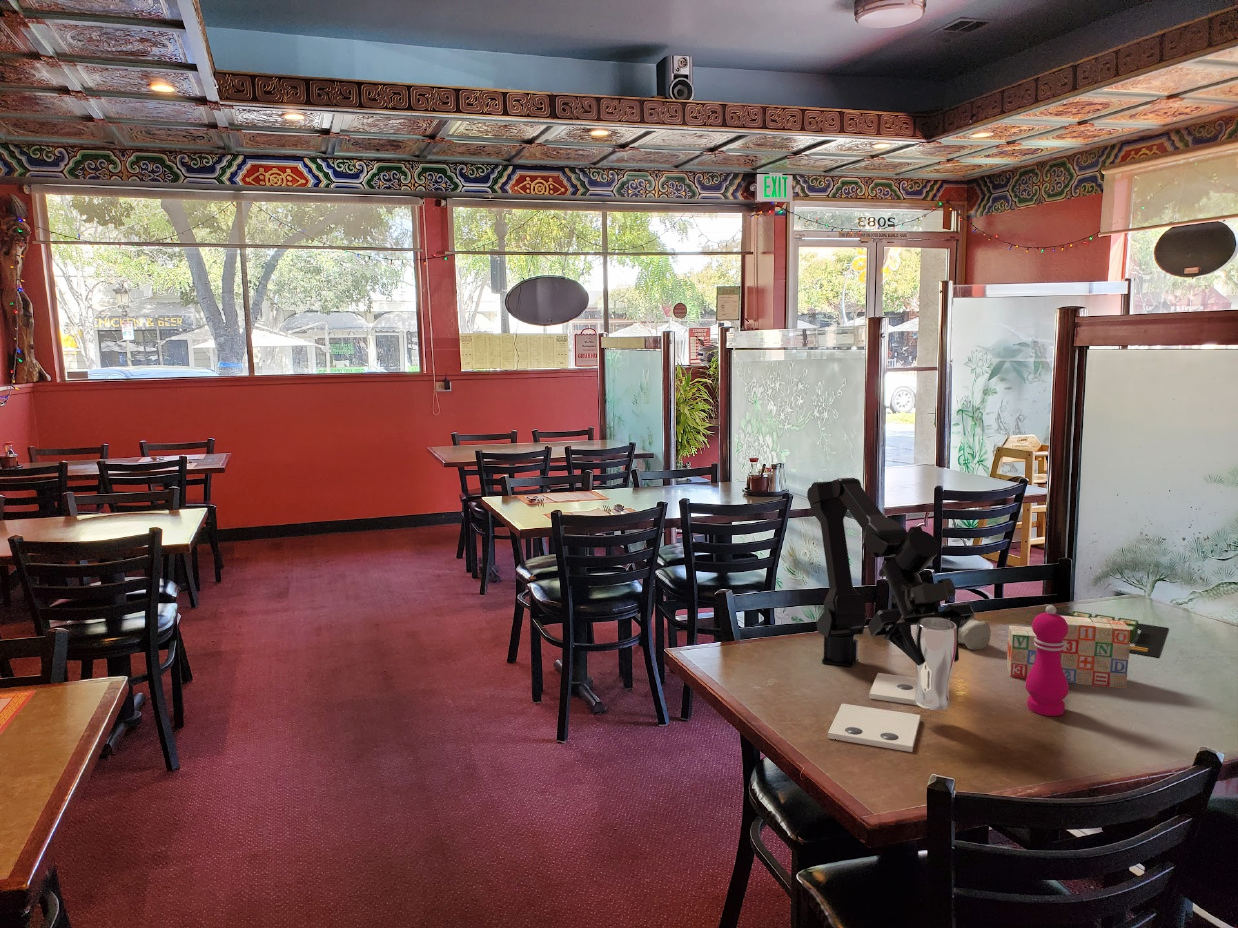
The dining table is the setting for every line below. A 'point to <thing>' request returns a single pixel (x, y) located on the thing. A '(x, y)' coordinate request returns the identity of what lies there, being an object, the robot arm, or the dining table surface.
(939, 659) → the beer glass
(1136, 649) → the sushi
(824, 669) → the dining table surface
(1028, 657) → the stack of blocks
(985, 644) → the ceramic sculpture
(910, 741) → the two-dot tile
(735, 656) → the dining table surface
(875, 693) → the one-dot tile
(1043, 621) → the pepper mill
